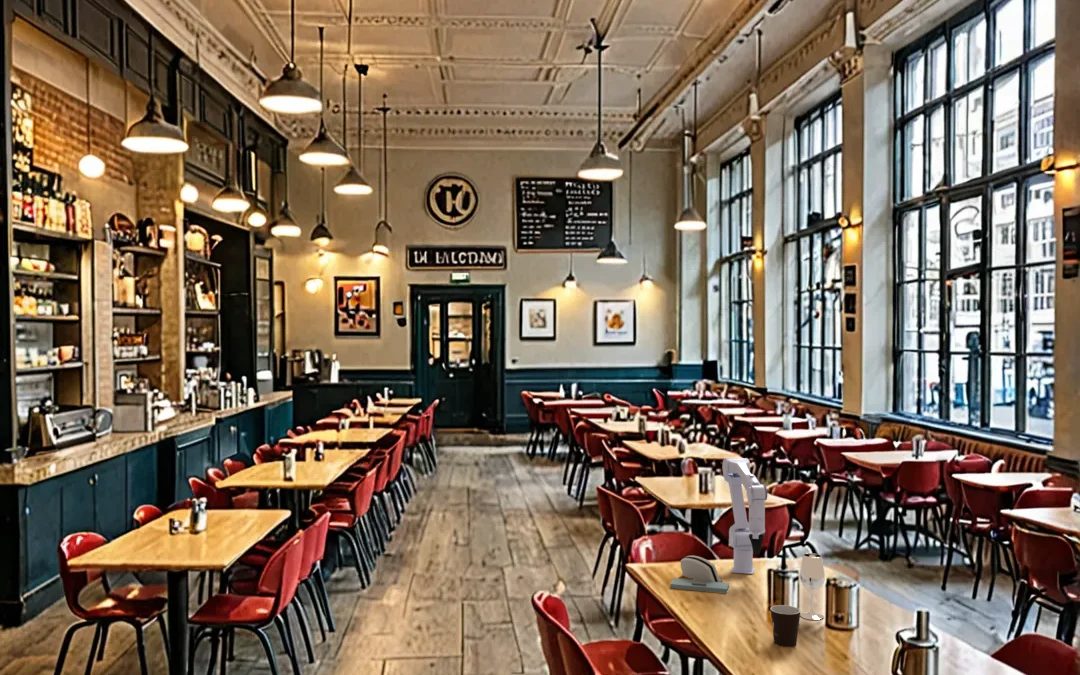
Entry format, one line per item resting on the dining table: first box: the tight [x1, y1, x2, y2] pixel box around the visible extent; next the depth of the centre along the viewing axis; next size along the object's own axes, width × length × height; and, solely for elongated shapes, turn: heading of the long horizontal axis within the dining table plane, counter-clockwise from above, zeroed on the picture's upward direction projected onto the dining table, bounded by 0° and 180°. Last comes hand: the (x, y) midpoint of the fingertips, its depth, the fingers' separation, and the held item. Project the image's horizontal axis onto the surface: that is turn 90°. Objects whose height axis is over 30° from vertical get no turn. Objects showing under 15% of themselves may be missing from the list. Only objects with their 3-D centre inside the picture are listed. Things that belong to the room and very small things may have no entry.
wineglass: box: [799, 552, 826, 621], centre depth 283 cm, size 8×8×20 cm
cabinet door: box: [670, 577, 730, 594], centre depth 315 cm, size 8×20×2 cm, turn 72°
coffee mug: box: [770, 604, 802, 648], centre depth 260 cm, size 12×9×10 cm
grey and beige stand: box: [679, 555, 724, 583], centre depth 325 cm, size 17×5×10 cm, turn 34°
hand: (756, 554), depth 322 cm, fingers closed
